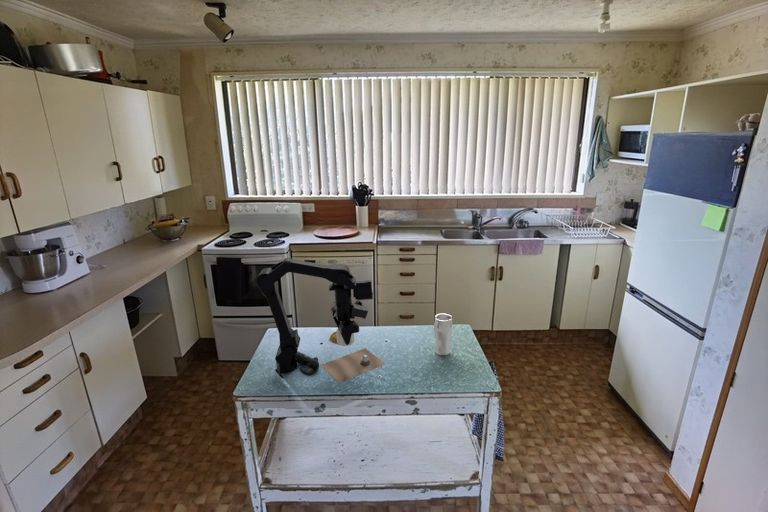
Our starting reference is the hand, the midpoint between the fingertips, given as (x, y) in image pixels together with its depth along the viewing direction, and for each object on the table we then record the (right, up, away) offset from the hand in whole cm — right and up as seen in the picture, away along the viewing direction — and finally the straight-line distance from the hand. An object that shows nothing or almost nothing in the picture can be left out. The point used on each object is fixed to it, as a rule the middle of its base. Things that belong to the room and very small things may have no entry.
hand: (345, 340), depth 141 cm
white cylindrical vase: (+37, -8, +14) cm, 40 cm away
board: (+3, -11, +4) cm, 12 cm away
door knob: (+7, -10, +4) cm, 13 cm away
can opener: (-16, -11, +5) cm, 20 cm away
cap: (0, 0, 0) cm, 0 cm away
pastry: (-4, -6, +22) cm, 23 cm away
